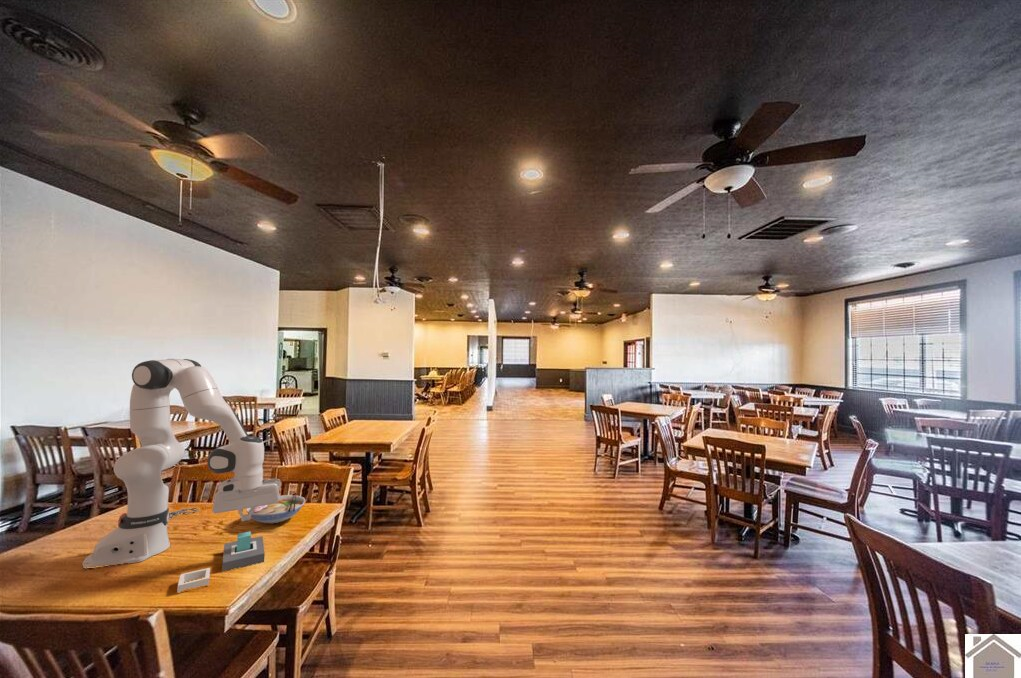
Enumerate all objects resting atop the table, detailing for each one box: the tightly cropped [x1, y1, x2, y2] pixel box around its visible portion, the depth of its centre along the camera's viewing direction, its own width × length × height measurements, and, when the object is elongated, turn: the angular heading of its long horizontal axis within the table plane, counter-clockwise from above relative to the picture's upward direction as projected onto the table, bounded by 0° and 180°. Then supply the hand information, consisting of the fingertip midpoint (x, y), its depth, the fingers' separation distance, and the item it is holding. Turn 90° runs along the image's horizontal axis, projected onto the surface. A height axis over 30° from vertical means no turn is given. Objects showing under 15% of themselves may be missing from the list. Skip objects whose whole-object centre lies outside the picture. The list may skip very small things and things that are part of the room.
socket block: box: [221, 535, 266, 572], centre depth 139 cm, size 12×16×3 cm
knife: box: [169, 507, 199, 519], centre depth 166 cm, size 28×2×10 cm
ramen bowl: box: [246, 492, 306, 525], centre depth 170 cm, size 25×23×8 cm
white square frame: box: [176, 567, 211, 594], centre depth 122 cm, size 8×8×2 cm
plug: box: [236, 531, 252, 552], centre depth 139 cm, size 4×4×8 cm
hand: (246, 520), depth 140 cm, fingers closed
